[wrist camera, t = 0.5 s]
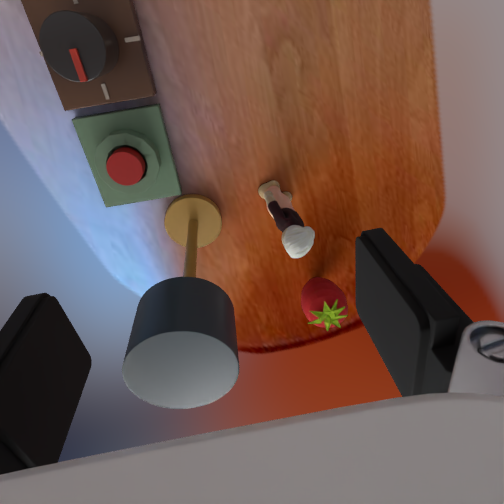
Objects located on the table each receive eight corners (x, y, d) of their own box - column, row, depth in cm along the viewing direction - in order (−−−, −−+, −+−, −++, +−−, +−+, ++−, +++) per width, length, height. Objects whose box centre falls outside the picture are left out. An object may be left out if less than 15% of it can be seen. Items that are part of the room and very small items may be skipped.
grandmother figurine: (244, 194, 44) (256, 247, 33) (262, 169, 43) (280, 215, 32) (292, 223, 47) (317, 280, 36) (311, 200, 45) (342, 253, 35)
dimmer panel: (24, -12, 32) (13, -14, 30) (127, -28, 32) (122, -31, 30) (70, 107, 37) (62, 111, 35) (157, 93, 37) (155, 96, 35)
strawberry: (307, 305, 55) (325, 355, 46) (284, 273, 51) (299, 320, 43) (342, 287, 54) (367, 335, 45) (321, 252, 50) (344, 298, 41)
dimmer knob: (51, 17, 31) (25, 15, 27) (108, 8, 31) (91, 4, 27) (74, 80, 34) (53, 87, 29) (126, 71, 34) (113, 77, 29)
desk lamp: (153, 195, 43) (104, 343, 23) (219, 184, 43) (228, 321, 23) (170, 251, 47) (142, 417, 27) (230, 241, 47) (246, 398, 27)
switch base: (74, 117, 37) (65, 123, 35) (159, 103, 38) (156, 108, 35) (108, 203, 43) (102, 214, 40) (182, 191, 43) (180, 201, 40)
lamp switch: (105, 149, 37) (100, 154, 36) (139, 144, 37) (136, 149, 36) (116, 182, 39) (113, 188, 37) (149, 177, 39) (147, 182, 38)
